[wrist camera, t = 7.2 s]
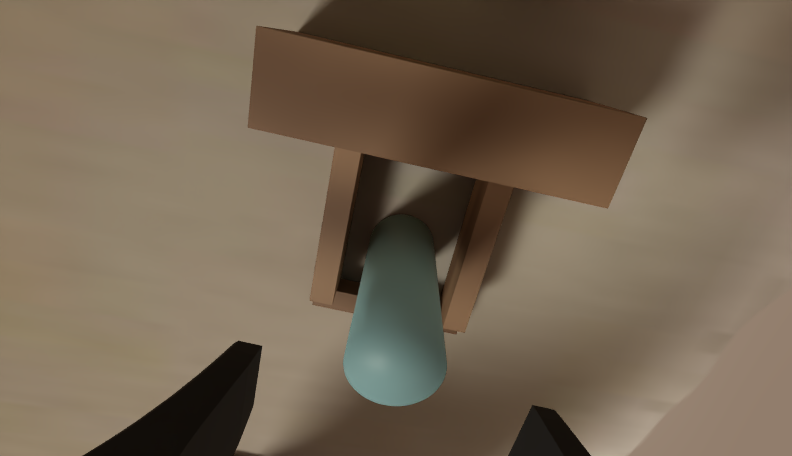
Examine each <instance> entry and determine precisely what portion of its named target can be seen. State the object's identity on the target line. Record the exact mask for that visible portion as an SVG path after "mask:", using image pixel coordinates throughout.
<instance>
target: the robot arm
mask: <svg viewBox="0 0 792 456" xmlns="http://www.w3.org/2000/svg"><path fill="white" fill-rule="evenodd" d="M261 351H262V346H260V345H255V344H251V343H246V342H242V341H237V342H236V343H234V344H233V345H232V346H230V347H229V348H228V349H227V350H226V351H225V352H224V353H223V354H222V355H221V356H219V357H218V358H217V359H216V360H215V361H214V362H213V363H211V364H210V365H209V366H208V367H207V368H206V369H204V370H203V371H202V372H201V373H200V374H198V375H197V376H196V377H195V378H193V379H192V380H191V381H190V382H188V383H187V384H186V385H185V386H183V387H182V388H181V389H180V390H178V391H177V392H176V393H175V394H173V395H172V396H171V397H169V398H168V399H167V400H165V401H164V402H163V403H161V404H160V405H158V406H157V407H156V408H154V409H153V410H152V411H150V412H149V413H147V414H146V415H145V416H143V417H142V418H140V419H139V420H138V421H136V422H135V423H133V424H132V425H130V426H129V427H127V428H126V429H124V430H123V431H121V432H120V433H118V434H117V435H115V436H114V437H112V438H111V439H109V440H107V441H106V442H104V443H103V444H101V445H99V446H98V447H96V448H95V449H93V450H91V451H90V452H88V453H86V454H85V455H83V456H233V454H234V452H235V450H236V448H237V446H238V444H239V442H240V439H241V437H242V434H243V431H244V429H245V426H246V424H247V421H248V418H249V416H250V413H251V411H252V408H253V405H254V398H255V391H256V384H257V378H258V371H259V364H260V358H261ZM508 456H591V455H590V454H589V453H588V451H587V450H586V449H585V447H584V446H583V445H582V444H581V442H580V441H579V440H578V438H577V437H576V436H575V435H574V433H573V432H572V431H571V430H570V428H569V427H568V426H567V424H566V423H565V422H564V421H563V419H562V418H561V417H560V416H559V415H558V413H557V412H556V411H555V410H552V409H548V408H543V407H539V406H534V405H532V407H531V409H530V411H529V413H528V416H527V418H526V420H525V422H524V424H523V426H522V428H521V430H520V432H519V434H518V436H517V439H516V441H515V443H514V445H513V447H512V449H511V451H510V453H509V455H508Z"/></svg>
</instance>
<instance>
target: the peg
mask: <svg viewBox="0 0 792 456" xmlns="http://www.w3.org/2000/svg"><path fill="white" fill-rule="evenodd" d="M343 366H344V372H345V375H346V378H347V380H348V381H349V383H350V385H351V386H352V387H353V388H354V389H355V390H356V391H357V392H358V393H359V394H360V395H362V396H363V397H365V398H367V399H368V400H370V401H373V402H375V403H379V404H382V405H387V406H406V405H411V404H415V403H418V402H420V401H422V400H424V399H426V398H428V397H429V396H431V395H432V394H433V393H434V392H435V391H436V390H437V389H438V388H439V387H440V385H441V384H442V382H443V380H444V378H445V375H446V370H447V360H446V351H445V342H444V333H443V324H442V315H441V306H440V297H439V288H438V279H437V270H436V261H435V252H434V243H433V237H432V234H431V232H430V230H429V228H428V227H427V226H426V225H425V224H424V223H423V222H422V221H421V220H419V219H417V218H415V217H413V216H409V215H393V216H390V217H387V218H385V219H384V220H382V221H381V222H379V223H378V224H377V225H376V227H375V228H374V230H373V232H372V234H371V237H370V242H369V246H368V251H367V255H366V260H365V264H364V269H363V273H362V278H361V282H360V287H359V291H358V296H357V300H356V305H355V309H354V314H353V318H352V323H351V327H350V332H349V336H348V341H347V345H346V350H345V354H344V359H343Z"/></svg>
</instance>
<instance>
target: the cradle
mask: <svg viewBox="0 0 792 456" xmlns="http://www.w3.org/2000/svg"><path fill="white" fill-rule="evenodd" d="M646 120H647V118H645V117H642V116H639V115H635V114H632V113H628V112H625V111H622V110H618V109H615V108H611V107H608V106H605V105H601V104H598V103H594V102H591V101H587V100H583V99H579V98H575V97H570V96H566V95H562V94H558V93H554V92H549V91H545V90H541V89H537V88H532V87H528V86H524V85H520V84H515V83H511V82H507V81H503V80H499V79H494V78H490V77H486V76H482V75H477V74H473V73H469V72H465V71H460V70H456V69H452V68H448V67H444V66H439V65H435V64H431V63H427V62H422V61H418V60H414V59H410V58H406V57H401V56H397V55H393V54H389V53H384V52H380V51H376V50H372V49H367V48H363V47H359V46H355V45H351V44H346V43H342V42H338V41H334V40H329V39H325V38H321V37H317V36H313V35H308V34H304V33H300V32H295V31H288V30H281V29H275V28H268V27H261V26H256V37H255V48H254V60H253V72H252V84H251V95H250V107H249V119H248V128H252V129H256V130H261V131H265V132H270V133H274V134H279V135H283V136H288V137H292V138H297V139H301V140H305V141H310V142H314V143H319V144H323V145H328V146H332V147H335V150H334V156H333V162H332V168H331V174H330V180H329V186H328V192H327V198H326V204H325V210H324V216H323V222H322V228H321V234H320V240H319V247H318V253H317V259H316V265H315V271H314V277H313V283H312V289H311V295H310V301H313V304H312V305H316V306H321V307H326V308H331V309H335V310H340V311H345V312H350V313H354V309H355V305H356V300H357V296H358V291H359V287H360V282H355V281H350V280H345V279H341V274H342V269H343V264H344V258H345V253H346V248H347V243H348V238H349V233H350V227H351V222H352V217H353V212H354V207H355V201H356V196H357V191H358V186H359V181H360V176H361V170H362V165H363V160H364V155H365V154H368V155H372V156H377V157H381V158H386V159H390V160H394V161H399V162H403V163H408V164H412V165H417V166H421V167H426V168H430V169H434V170H439V171H443V172H448V173H452V174H457V175H461V176H466V177H470V178H475V179H476V181H475V184H474V188H473V191H472V194H471V198H470V201H469V204H468V208H467V211H466V214H465V217H464V221H463V224H462V227H461V231H460V234H459V237H458V241H457V244H456V247H455V251H454V254H453V257H452V261H451V264H450V267H449V271H448V274H447V277H446V281H445V284H444V287H443V290H442V294H441V297H440V306H441V315H442V324H443V332H447V333H452V334H457V331H459V332H463V333H465V330H466V327H467V324H468V321H469V318H470V315H471V312H472V310H473V307H474V304H475V301H476V298H477V295H478V292H479V289H480V286H481V283H482V280H483V277H484V274H485V271H486V268H487V265H488V262H489V259H490V256H491V254H492V251H493V248H494V245H495V242H496V239H497V236H498V233H499V230H500V227H501V224H502V221H503V218H504V215H505V212H506V209H507V206H508V203H509V200H510V198H511V195H512V192H513V189H514V187H515V188H519V189H523V190H528V191H532V192H537V193H541V194H546V195H550V196H555V197H559V198H563V199H568V200H572V201H577V202H581V203H586V204H590V205H595V206H599V207H604V208H608V207H609V205H610V202H611V200H612V198H613V196H614V193H615V191H616V189H617V186H618V184H619V182H620V180H621V177H622V175H623V173H624V170H625V168H626V166H627V163H628V161H629V159H630V157H631V154H632V152H633V150H634V147H635V145H636V143H637V141H638V138H639V136H640V134H641V131H642V129H643V127H644V124H645V122H646Z"/></svg>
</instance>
